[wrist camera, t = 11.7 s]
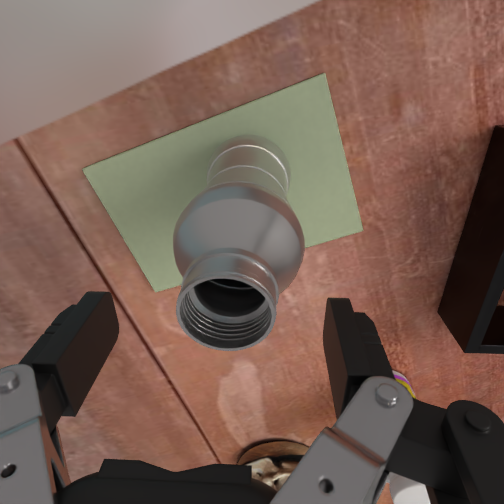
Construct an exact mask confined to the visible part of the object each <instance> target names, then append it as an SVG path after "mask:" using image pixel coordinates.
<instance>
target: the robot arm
mask: <svg viewBox="0 0 504 504" xmlns="http://www.w3.org/2000/svg"><path fill="white" fill-rule="evenodd" d="M118 334H119V323H118V319H117V314H116V310H115V306H114V302H113V298H112V295H111V293H110V292H92V291H89V292H87V293H86V294H85V295H84V296H83V297H82V299H81V300H80V301H79V302H78V304H77V305H71V306H70V307H68V308H67V309H65V310H64V311H63V312H61V313H60V314H59V315H58V316H57V317H56V319H55V320H54V321H53V322H52V323H51V326H49V327H48V328H47V330H46V331H45V333H44V334H42V336H41V337H40V338H39V339H38V341H37V342H36V343H35V344H34V345H33V347H32V348H31V349H30V350H29V351H28V353H27V354H26V355H25V356H24V358H23V359H22V360H21V361H20V362H19V364H16V365H11V366H7V367H5V368H2V369H0V504H376V503H377V501H378V499H379V497H380V494H381V492H382V490H383V488H384V486H385V484H386V482H387V480H388V478H389V476H390V474H391V472H392V473H395V474H397V475H400V476H403V477H405V478H408V479H411V480H413V481H416V482H419V483H422V484H424V485H425V487H426V490H427V493H428V497H429V500H430V503H431V504H504V423H503V422H502V420H501V419H500V418H499V417H498V416H497V415H496V414H495V413H493V412H492V411H491V410H489V409H488V408H486V407H485V406H483V405H481V404H478V403H476V402H472V401H467V400H458V401H455V402H453V403H451V404H450V405H449V406H448V408H447V409H444V408H441V407H437V406H434V405H431V404H427V403H424V402H421V401H419V400H417V399H415V398H413V397H412V396H411V394H410V392H409V391H408V390H407V388H406V387H405V386H404V385H402V384H401V383H400V382H398V381H396V379H395V376H394V374H393V371H392V369H391V366H390V363H389V361H388V358H387V356H386V353H385V350H384V348H383V345H382V344H381V340H380V337H379V336H378V332H377V330H376V327H375V324H374V322H373V321H372V320H371V319H370V318H369V317H368V316H367V315H366V314H365V313H359V312H354V311H353V308H352V305H351V302H350V299H349V298H328V299H327V304H326V312H325V320H324V329H323V346H324V352H325V357H326V363H327V368H328V374H329V379H330V385H331V390H332V396H333V401H334V407H335V412H336V418H337V421H336V423H335V424H334V425H333V427H332V428H329V427H325V428H324V429H323V430H322V431H321V432H320V434H319V435H318V436H317V438H316V439H315V441H314V442H313V443H312V445H311V446H310V448H309V449H308V450H307V452H306V453H305V455H304V456H303V457H302V459H301V460H300V462H299V463H298V464H297V466H296V467H295V469H294V470H293V471H292V473H291V474H290V476H289V477H288V478H287V480H286V481H285V483H284V484H283V485H282V487H281V488H280V490H279V491H276V490H275V489H274V488H272V487H271V486H269V485H268V484H266V483H264V482H262V481H260V480H257V479H254V478H252V465H230V464H212V465H207V466H203V467H198V468H194V469H189V470H185V471H180V472H172V471H169V470H166V469H163V468H160V467H157V466H154V465H152V464H149V463H146V462H143V461H140V460H118V459H104V461H103V463H102V466H101V468H100V470H99V472H96V473H93V474H90V475H87V476H85V477H82V478H80V479H78V480H76V481H74V482H72V483H71V481H70V477H69V474H68V469H67V465H66V460H65V456H64V452H63V447H62V443H61V438H60V434H59V430H58V427H57V425H56V424H57V422H58V421H59V419H60V417H61V416H74V417H75V416H76V415H77V413H78V411H79V409H80V407H81V405H82V404H83V402H84V400H85V398H86V396H87V394H88V392H89V391H90V389H91V387H92V385H93V383H94V381H95V380H96V378H97V376H98V374H99V372H100V370H101V368H102V367H103V365H104V363H105V361H106V359H107V357H108V356H109V354H110V352H111V350H112V348H113V346H114V345H115V343H116V341H117V338H118Z"/></svg>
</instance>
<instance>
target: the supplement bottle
mask: <svg viewBox="0 0 504 504" xmlns="http://www.w3.org/2000/svg"><path fill="white" fill-rule="evenodd" d="M392 371H393V370H392ZM393 374H394V376H395V379H396V381H398V382H400V383H401V384H402V385H404V386H405V387H406V388H407V390H408V391H409V392H410V394H411V396H412V397H413V398H415V399H416V397H415V395H414V392H413V390H412V388H411V386H410V384H409V382H408V380H407V379H406V377H405V376H403V375H402V374H401V373H399V372H396V371H393ZM387 482H388V483H390V493H391V496H392V499H393V503H394V504H431V503H430V500H429V497H428V493H427V490H426V487H425V485H424V484H422V483H419V482H416V481H413V480H411V479H408V478H405V477H403V476H400V475H397V474H395V473H392V472H391V474H390V476H389V478H388V480H387Z"/></svg>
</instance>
